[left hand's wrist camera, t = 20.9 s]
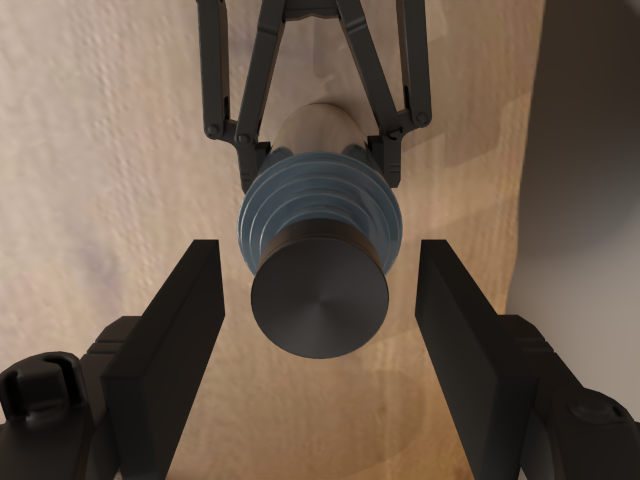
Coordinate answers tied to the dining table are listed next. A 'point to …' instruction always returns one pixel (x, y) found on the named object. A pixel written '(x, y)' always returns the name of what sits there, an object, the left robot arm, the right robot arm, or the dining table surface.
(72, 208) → the dining table surface
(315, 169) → the bottle
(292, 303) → the cap
